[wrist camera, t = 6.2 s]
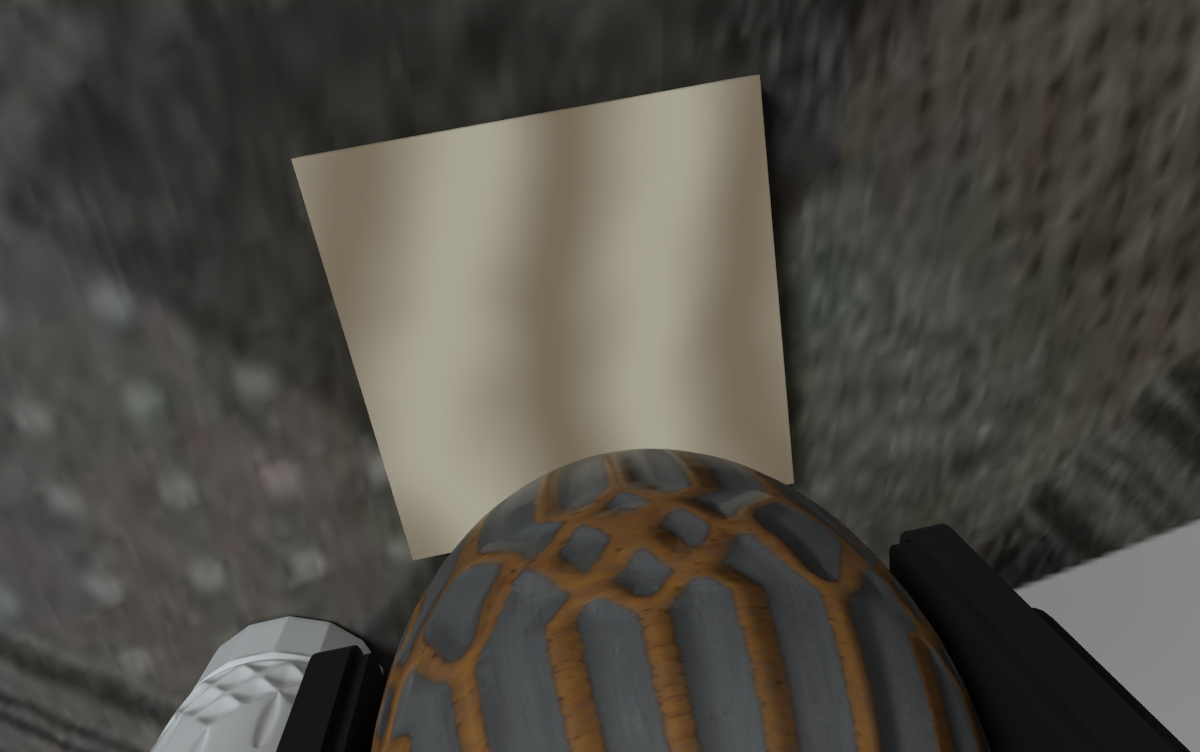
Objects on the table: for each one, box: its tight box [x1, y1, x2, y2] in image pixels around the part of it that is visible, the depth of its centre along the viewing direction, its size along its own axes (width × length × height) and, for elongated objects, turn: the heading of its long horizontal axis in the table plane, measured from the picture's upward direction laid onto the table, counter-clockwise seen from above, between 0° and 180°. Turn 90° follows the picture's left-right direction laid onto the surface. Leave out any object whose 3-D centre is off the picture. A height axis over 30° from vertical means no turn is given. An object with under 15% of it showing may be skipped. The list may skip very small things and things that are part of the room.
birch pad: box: [292, 75, 794, 560], centre depth 25 cm, size 14×14×1 cm
